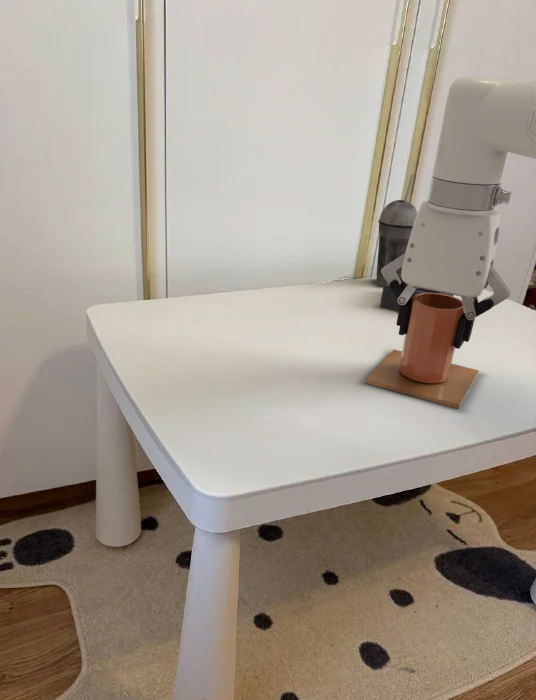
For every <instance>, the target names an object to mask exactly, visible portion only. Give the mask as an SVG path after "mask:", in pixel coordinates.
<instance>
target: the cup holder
mask: <svg viewBox="0 0 536 700" xmlns="http://www.w3.org/2000/svg"><path fill="white" fill-rule="evenodd" d="M397 275H398V277H399V278H400V279H401V280H402V278H401V272H400V273H398V274H397ZM402 282H403V283H404V284H405V286H407V285H408V284H406V283H405V282H404V281H403V280H402ZM420 293H440V294H445V295H450V296H453V297H454V295H451V294H446V293H441V292H437V291H432V290H427V289H422V288H419V289H418V290H417V291H416V293H415V294H414V296H415V295H416V294H420ZM414 296H413V297H414ZM397 300H398V299H397V297H396V296H395V294H394V293H393V291H392V290H391V289H390V286H389V283H386V284H384V286H382V293H381V299H380V304H379V308H382V309H386V310H391V311H396V312H399V307H400V304H399V303H398V301H397Z"/></svg>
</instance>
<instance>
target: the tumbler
mask: <svg viewBox="0 0 536 700" xmlns="http://www.w3.org/2000/svg"><path fill="white" fill-rule="evenodd" d="M464 312H465V311H464V307H463V302H462V299H460V298H458V297H457V296H456V297H455V296H454V295H453V296H450V295H445V294H440V293H420V294H416V295H415V296H414V297H413V299H412V304H411V309H410V314H409V319H408V324H407V329H406V334H405V335H404V340H403V344H402V350H401V351H402V355H401V360H400V367H399V370H400V372H401V373H402V374H403V375H404V376H406V377H408V378H410V379H412V380H415V381H419V382H424V383H440V382H444V381H446V380H447V379H448V377H449V373H450V370H451V366H452V364H453V362H454V357H455V353H456V349H457V348H455V347H454V343H455V338H456V334H457V330H458V326H459V322H460V319H461V317H462V316H463V315H464Z"/></svg>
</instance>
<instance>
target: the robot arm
mask: <svg viewBox="0 0 536 700" xmlns="http://www.w3.org/2000/svg"><path fill="white" fill-rule="evenodd" d="M435 153H436V154H435V160H434V165H433V169H432V175H431V179H430V184H429V190H428V195H427V200H424V201H422V202H421V204H420V206H419V209H418V210H417V216H416V219H415V222H414V225H413V228H412V231H411V235H410V238H409V241H408V245H407V249H406V253H404V254H403V255H401V256H400V257H398V258H397V259H395V260H394V261H392V262H391V263H389V264H387V265H386V266H384V267H383V268H382V269H381V273H382V275H383V276H384V278H385V280H386V281H387V283H389V286H390V289H391V290H392V291H393V293H394V294H395V296H396V297H397V299H398V300H397V301H398V303H399V304H400V307H399V311H398V312H397V313H398V314H397V319H396V326H398V327H399V330H398V335H399V336H405V334H406V329H407V324H408V319H409V314H410V309H411V304H412V299H413V296H414V294H415V293H416V291H417V290H418V289H419V288H422V289H427V290H432V291H437V292H441V293H446V294H451V295H453V296H456V297H460V298H461V300H462V302H463V307H464V311H465V312H464V315H463V316H462V317H461V319H460V322H459V326H458V330H457V334H456V338H455V343H454V347H455V348H456V349H458V350H460V349H461V347H462V346H463V344H464V342H466V343H468V342H469V341H470V339H471V336H472V332H473V329H474V324H475V319H476V318H477V317H480V316H481V315H482V314H484V313H486V312H488V311H489V310H491V309H492V308H494V307H495V306H497V305H499V304H500V303H502V302H504V301H506V300H507V299H508V298H509V297H510V295H511V293H512V292H511V290H510V288H509V287H508V286H507V284H506V282H505V281H504V280H503V279H502V277H501V276H500V274H499V273H498V272H497V270H496V268H495V267H494V262H495V257H496V253H497V247H498V241H499V235H500V225H501V212H500V211H499V210H496V209H495V207H496V206H498V205H502V204H505V205H508V204H509V203H510V199H511V196H512V191H507V190H505V189H503V187H501V186H502V185H501V184H502V183H501V180H502V176H503V172H504V169H505V163H506V160H507V156H508V153H511V154H514V155H518V156H522V157H526V158H530V159H535V160H536V81H515V80H514V79H510V78H503V77H493V76H479V75H478V76H477V75H475V76H473V75H471V76H470V75H468V76H467V75H466V76H461V77H458V78H456V79H455V80H454V81H453V82H452V83H451V84H450V87H449V89H448V93H447V98H446V102H445V107H444V112H443V117H442V123H441V128H440V132H439V138H438V143H437V148H436V152H435ZM401 267H402V272H401V278H402V280H403V281H404V282H405V283H406V284H408V285H407V286H405V284H404V283H403V282H402V280H401V279H400V278H399V277H398V275H397V273H396V271H397V270H398V269H399V268H401ZM488 286H489V287H490V288H491V289H492V291H493V293H492V294H491V295H489V296H487V297H485V298H484V299H482V300H479V296H480V295H481V294H482V293H483V291H484V289H487V287H488Z"/></svg>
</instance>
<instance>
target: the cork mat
mask: <svg viewBox="0 0 536 700" xmlns="http://www.w3.org/2000/svg"><path fill="white" fill-rule="evenodd" d="M401 355H402V350H398V349H393V350H392V351H391V352H390V353H389V354H388V355H387V356H386V357H385V359H384V360H383V361H382V362H381V363H380V364H379V365H378V366H377V367H376V368H375V369H374V370H373V371H372V372H371V373H370V374H369V375H368V377H367V378H366V379H365V384H367V385H371V386H374V387H378V388H382V389H385V390H389V391H392V392H396V393H400V394H403V395H407V396H411V397H414V398H417V399H422V400H425V401H429V402H432V403H437V404H439V405H443V406H447V407H451V408H454V409H457V410H458V409H460V407H461V405H462V403H464V400H465V399H466V396H467V395H468V393H469V391H470V390H471V387H472V386H473V384H474V382H475V380H476V378H477V377H478V375H479V372H480V370H479V369H476V368H471V367H467V366H463V365H459V364H456V363H455V364H454V363H452V366H451V370H450V373H449V377H448V379H447V380H446V381H444V382H440V383H424V382H419V381H415V380H412V379H410V378H408V377H406V376H404V375H403V374H402V373H401V372H400V370H399V367H400V360H401Z"/></svg>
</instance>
